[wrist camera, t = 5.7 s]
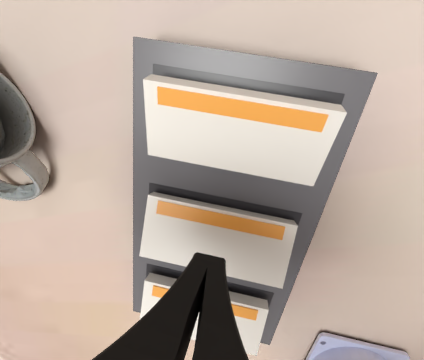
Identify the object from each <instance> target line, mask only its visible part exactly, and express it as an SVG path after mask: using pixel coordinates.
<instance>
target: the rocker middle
mask: <svg viewBox="0 0 424 360" xmlns="http://www.w3.org/2000/svg"><path fill="white" fill-rule="evenodd" d="M297 228H298V225H297V224H296V222H295V221H294V220H289V219H284V218H279V217H274V216H269V215H264V214H259V213H255V212H250V211H245V210H240V209H235V208H230V207H225V206H220V205H215V204H210V203H206V202H201V201H196V200H191V199H186V198H181V197H176V196H171V195H166V194H162V193H157V192H153V193H151V194H149V195H148V198H147V205H146V212H145V219H144V226H143V233H142V240H141V247H140V254H139V256H141V257H145V258H150V259H154V260H159V261H163V262H167V263H172V264H176V265H180V266H185V267H187V265H188V264H189V262H190V261H191V259H192V257H193V255H194V254H195V253H197V252H199V253H203V254H208V255H212V256H217V257H221V258H224V259H225V260H226V276H229V277H233V278H237V279H242V280H246V281H250V282H255V283H259V284H264V285H268V286H272V287H277V288H281V289H283V285H284V281H285V277H286V273H287V269H288V264H289V260H290V256H291V252H292V248H293V244H294V240H295V236H296V232H297Z"/></svg>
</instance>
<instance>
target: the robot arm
mask: <svg viewBox="0 0 424 360" xmlns="http://www.w3.org/2000/svg"><path fill="white" fill-rule="evenodd" d="M198 314H199V318H198V326H197V333H196V341H195V348H194V354H193V358H192V360H249V359H248V357H247V354H246V351H245V349H244V346H243V343H242V340H241V337H240V334H239V330H238V327H237V324H236V320H235V316H234V313H233V309H232V304H231V300H230V295H229V290H228V284H227V277H226V260H225V259H224V258H221V257H217V256H212V255H208V254H203V253H199V252H197V253H195V254H194V255H193V257H192V259H191V261H190V262H189V264H188V265H187V267H186V268H185V270H184V271H183V272H182V274H181V275H180V276H179V278H178V279H177V280H176V281H175V283H174V284H173V285H172V286H171V288H170V289H169V290H168V291H167V292H166V293H165V294H164V295H163V297H162V298H161V299H160V300H159V301H158V302H157V303H156V304H155V305H154V306H153V307H152V308H151V309H150V310H149V311H148V312H147V313H146V314H145V315H144V316H143V317H142V318H141V319H140V320H139V321H138V322H137V323H136V324H135V325H134V326H132V327H131V328H130V329H129V330H128V331H127V332H126V333H125V334H123V335H122V336H121V337H120V338H119V339H118V340H116V341H115V342H114V343H113V344H112V345H110V346H109V347H108V348H106V349H105V350H104V351H102V352H101V353H100V354H99V355H97V356H96V357H95V358H93V359H92V360H184V358H185V355H186V352H187V349H188V345H189V342H190V339H191V336H192V333H193V330H194V327H195V323H196V320H197V317H198ZM305 360H410V357H409V355H408V353H407V352H404V351H400V350H396V349H392V348H388V347H384V346H379V345H375V344H371V343H367V342H363V341H359V340H355V339H350V338H346V337H342V336H338V335H334V334H330V333H325V332H322V333H320V334H319V335H318V337H317V339H316V340H315V342H314V344H313V346H312V348H311V350H310V352H309V354H308V356H307V358H306V359H305Z"/></svg>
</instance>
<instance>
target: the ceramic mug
mask: <svg viewBox="0 0 424 360" xmlns="http://www.w3.org/2000/svg"><path fill="white" fill-rule="evenodd" d="M35 135H36V127H35V119H34V117H33V114H32V111H31V108H30V107H29V105H28V103H27V101H26V99H25V98H24V97H23V95H22V94H21V92H20V91H19V90H18V89H17V87H16V86H15V85H14V84H13V83H12V82H11V81H10V80H9V79H8V78H6V77H5V76H4V75H3V74H2V73H0V167H2V166H5V165H7V164H9V163H13V164H15V165H16V166H18V167H20V168H21V169H22V170H23V171H24V172H25V173H26V175H28V176H29V177H30V179H31V180H32V181H33V184H30V185H20V186H16V185H13V184H10V183H7V182H5V181H2V180H0V198H2V199H7V200H13V201H26V200H31V199H34V198H36V197H38V196H39V195H40V194H41V193H42V192H43V190H44V188H45V187H46V185H47V183H48V182H49V173H48V171H47V168H46V167H45V165H44V164H43V163H42V162H41V161H40V160H39V159H38V158H37V157H36V156H35V155H34V154H33V153H32V152H31V151H30V150H29V149H30V148H31V146H32V144H33V142H34V139H35Z"/></svg>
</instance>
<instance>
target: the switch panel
mask: <svg viewBox="0 0 424 360" xmlns="http://www.w3.org/2000/svg"><path fill="white" fill-rule="evenodd" d="M151 74H154V75H160V76H166V77H172V78H178V79H185V80H191V81H197V82H203V83H209V84H216V85H222V86H228V87H234V88H240V89H247V90H253V91H259V92H265V93H271V94H277V95H284V96H290V97H296V98H302V99H308V100H315V101H321V102H327V103H333V104H339V105H342V106H343V108H344V109H345V111H346V112H347V114H346V116H345V118H344V121H343V123H342V125H341V127H340V129H339V131H338V134H337V136H336V138H335V140H334V142H333V145H332V147H331V149H330V151H329V153H328V155H327V158H326V160H325V162H324V164H323V166H322V168H321V171H320V173H319V175H318V177H317V179H316V182H315V184H314V186H308V185H303V184H298V183H292V182H287V181H282V180H277V179H272V178H266V177H261V176H256V175H251V174H245V173H240V172H235V171H230V170H224V169H219V168H214V167H209V166H204V165H198V164H193V163H188V162H183V161H177V160H172V159H167V158H162V157H156V156H151V155H148V148H147V133H146V118H145V103H144V88H143V79H144V78H146V77H147V76H149V75H151ZM377 74H378V73H375V72H368V71H362V70H355V69H348V68H341V67H335V66H328V65H321V64H315V63H308V62H301V61H294V60H288V59H281V58H274V57H268V56H261V55H254V54H247V53H241V52H234V51H227V50H221V49H214V48H207V47H200V46H194V45H187V44H180V43H174V42H167V41H160V40H153V39H147V38H140V37H133V311H136V312H140V313H141V305H142V297H143V289H144V281H145V279H146V277H147V276H148V274H149V273H154V274H158V275H162V276H167V277H171V278H175V279H178V278H179V276H180V275H181V274H182V272H183V271H184V270H185V268H186V267H185V266H180V265H176V264H172V263H167V262H163V261H159V260H154V259H150V258H145V257H141V256H139V254H140V247H141V240H142V233H143V226H144V219H145V212H146V205H147V198H148V195H149V194H151V193H153V192H157V193H162V194H166V195H171V196H176V197H181V198H186V199H191V200H196V201H201V202H206V203H210V204H215V205H220V206H225V207H230V208H235V209H240V210H245V211H250V212H255V213H259V214H264V215H269V216H274V217H279V218H284V219H289V220H294V221H295V222H296V224H297V225H298V228H297V232H296V236H295V240H294V244H293V248H292V252H291V256H290V260H289V264H288V269H287V273H286V277H285V281H284V285H283V289H281V288H277V287H272V286H268V285H264V284H259V283H255V282H250V281H246V280H242V279H237V278H233V277H229V276H226V277H227V284H228V290H229V291H231V292H235V293H239V294H244V295H248V296H252V297H256V298H261V299H265V300H267V301H268V308H269V311H268V315H267V319H266V323H265V326H264V330H263V334H262V338H261V342H260V343H264V344H268V345H270V343H271V340H272V338H273V335H274V333H275V330H276V328H277V325H278V323H279V320H280V318H281V315H282V313H283V310H284V308H285V305H286V303H287V300H288V298H289V295H290V292H291V290H292V287H293V285H294V282H295V280H296V277H297V275H298V272H299V270H300V267H301V265H302V262H303V260H304V257H305V255H306V252H307V250H308V247H309V245H310V242H311V240H312V237H313V235H314V232H315V230H316V227H317V225H318V222H319V220H320V217H321V215H322V212H323V210H324V207H325V204H326V202H327V199H328V197H329V194H330V192H331V189H332V187H333V184H334V182H335V179H336V177H337V174H338V172H339V169H340V167H341V164H342V162H343V159H344V157H345V154H346V152H347V149H348V147H349V144H350V142H351V139H352V137H353V134H354V132H355V129H356V127H357V124H358V122H359V119H360V117H361V114H362V111H363V109H364V106H365V104H366V101H367V99H368V96H369V94H370V91H371V89H372V86H373V84H374V81H375V79H376V76H377Z"/></svg>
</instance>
